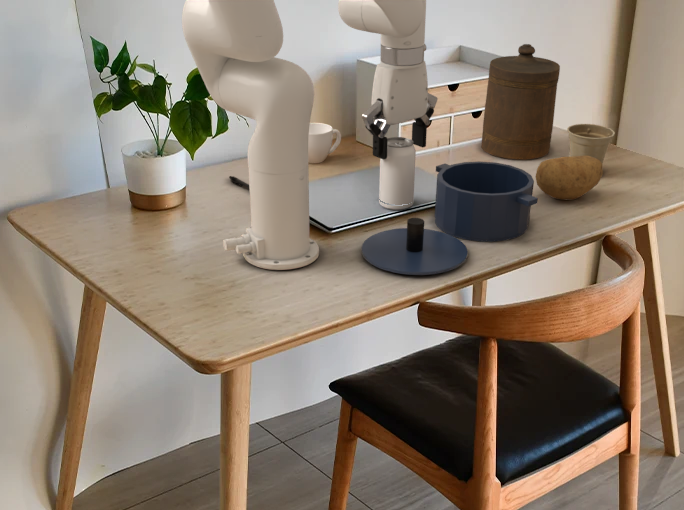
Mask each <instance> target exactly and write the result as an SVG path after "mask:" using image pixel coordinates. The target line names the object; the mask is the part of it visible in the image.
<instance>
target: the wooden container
mask: <svg viewBox="0 0 684 510" xmlns="http://www.w3.org/2000/svg"><path fill="white" fill-rule="evenodd" d="M517 52H518V55H506V56H500V57H499V56H498V57H496V58H494V59H491V61H490V63H489V69H488V79H487V87H486V96H485V103H484V111H483V112H484V113H483V122H482V135H481V145H480V146H481V149H482V150H483V151H484V152H486V153H487V154H488V155H492V156H494V157H498V158H502V159H508V160H520V161H521V160H534V159H539V158H542V157H545V156H547V155H548V154H549V153H550V150H551V141H552V134H553V129H554V120H555V119H554V118H555V107H556V99H557V91H558V83H559V79H560V72H561V65H560V64H559V63H558V62H556V61H554V60H552V59H548V58H543V57H537V56H534V54H535V53H536V49H535V47H534V46H532V44H529V43H523V44H522V45H520V46H519V47H518V50H517Z"/></svg>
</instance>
